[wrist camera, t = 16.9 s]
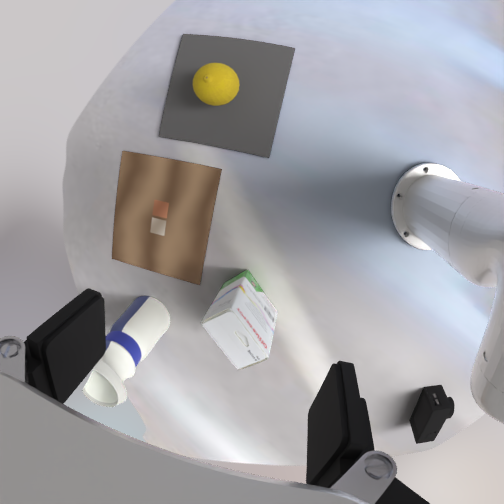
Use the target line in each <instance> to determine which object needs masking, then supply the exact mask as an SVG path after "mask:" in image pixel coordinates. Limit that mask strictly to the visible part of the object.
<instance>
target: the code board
mask: <svg viewBox="0 0 504 504" xmlns="http://www.w3.org/2000/svg"><path fill="white" fill-rule="evenodd" d="M221 170H222V169H218V168H213V167H209V166H204V165H199V164H194V163H189V162H184V161H179V160H173V159H168V158H162V157H157V156H151V155H145V154H139V153H133V152H127V151H122V158H121V165H120V172H119V180H118V188H117V197H116V207H115V219H114V232H113V248H112V259H115V260H118V261H121V262H124V263H128V264H131V265H134V266H137V267H140V268H144V269H147V270H150V271H154V272H157V273H160V274H164V275H167V276H170V277H174V278H177V279H180V280H184V281H187V282H191V283H194V284H198V285H200V282H201V276H202V270H203V264H204V258H205V253H206V247H207V242H208V236H209V231H210V226H211V220H212V215H213V210H214V205H215V200H216V195H217V190H218V185H219V180H220V175H221Z"/></svg>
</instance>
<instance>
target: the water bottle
mask: <svg viewBox="0 0 504 504" xmlns="http://www.w3.org/2000/svg"><path fill="white" fill-rule="evenodd" d="M169 325H170V315H169V313H168V310H167V309H166V307H165V306H164V305H163V304H162V303H161V302H160V301H158V300H157V299H155V298H153V297H150V296H140V297H138V298H136V299H135V300H134V301H133V302H132V304H131V305H130V306H129V307H128V308H127V310H126V311H125V312H124V313H123V314H122V315H121V316H120V318H119V319H118V320H117V321H116V322H115V323H114V324H113V325H112V327H111V328H110V329H109V331H108V334H107V336H106V351H105V354H104V355H103V357H102V358H101V359H100V360H99V361H98V363H97V364H96V365H95V366H94V367H93V371H92V373H91V375H90V378H89V379H88V381H87V383H86V385H85V387H84V388H83V390H82V391H83V393H84V395H85V396H86V397H87V398H88V399H89V400H91V401H92V402H94V403H96V404H98V405H101V406H106V407H114V406H116V405H118V404H121V403H123V402H125V401H126V398H127V392H126V388H125V386H124V384H123V381H124V380H125V379H129V378H131V377H132V376H133V375H134V374H135V367H136V366H137V364H138V363H139V362H141V361H142V360H143V359H145V357H146V356H147V355H148V354H149V352H150V351H151V350H152V348H153V347H154V345H155V344H156V343H157V341H158V340H159V339H160V338H161V336H162V335H163V334H164V333H165V332H166V330H167V329H168V328H169Z"/></svg>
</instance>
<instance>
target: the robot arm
mask: <svg viewBox="0 0 504 504" xmlns="http://www.w3.org/2000/svg"><path fill="white" fill-rule="evenodd" d="M423 168H425V170H424V171H423ZM397 194H399V197H397ZM391 214H392V220H393V223H394V225H395V228H396V230H397V231H398V233H399V235H400V236H401V237H402V238H403V239H404V240H405V241H406V242H407V243H408V244H410V245H412V246H413V247H415V248H418V249H421V250H433V251H435V252H436V253H437V254H438V255H439V256H440V257H442V258H443V259H444V260H445V261H446V262H447V263H448V264H449V265H451V266H452V267H453V268H454V269H455V270H456V271H457V272H458V273H460V274H461V275H462V276H463V277H464V278H465V279H466V280H468V281H469V282H470V283H472V284H474V285H476V286H479V287H485V288H493V287H496V293H495V297H494V301H493V304H492V311H491V314H490V318H489V321H488V324H487V327H486V330H485V333H484V336H483V339H482V342H481V345H480V348H479V351H478V354H477V356H476V359H475V362H474V365H473V368H472V373H471V379H470V385H471V392H472V395H473V397H474V399H475V401H476V403H477V404H478V406H479V407H480V408H481V409H482V410H483V411H484V412H485V413H486V414H488V415H489V416H490V417H492V418H494V419H495V420H497V421H499V422H501V423H503V424H504V193H500V192H497V191H494V190H490V189H487V188H483V187H480V186H477V185H473V184H470V183H466V182H462V181H460V179H459V178H458V177H457V175H456V174H455V173H454V172H453V171H451V170H450V169H449V168H447V167H445V166H443V165H439V164H435V163H423V164H420V165H416V166H414V167H413V168H411V169H409V170H408V171H407V172H406V173H405V174H404V175H403V176H402V177H401V178H400V180H399V181H398V183H397V185H396V187H395V189H394V192H393V195H392V201H391ZM405 231H406V233H405V234H404V232H405ZM105 351H106V336H105V311H104V298H103V297H102V295H101V293H100V292H97V291H94V290H92V289H86V290H85V291H83V292H82V293H81V294H80V295H78V296H77V297H76V298H74V299H73V300H72V301H71V302H69V303H68V304H67V305H65V306H64V307H63V308H62V309H60V310H59V311H58V312H57V313H55V314H54V315H53V316H52V317H51V318H49V319H48V320H47V321H46V322H44V323H43V324H42V325H41V326H39V327H38V328H37V329H36V330H35V331H33V332H32V333H31V334H30V335H29V336H27V340H26V341H25V342H23V341H22V340H21V339H19V338H17V337H15V336H6V337H3V338H0V504H430V503H429V502H427V501H426V500H424V499H423V498H421V497H420V496H419V495H418V494H416V493H415V492H414V491H412V490H411V489H410V488H408V487H407V486H406V485H405V484H403V483H402V482H401V481H399V480H398V479H397V478H395V476H396V474H397V466H396V463H395V461H394V460H393V458H392V457H390V456H389V455H388V454H386V453H384V452H381V451H375V450H374V444H373V438H372V432H371V426H370V421H369V415H368V410H367V405H366V401H365V399H364V398H360V394H359V389H358V383H357V378H356V373H355V368H354V364H353V363H348V362H343V361H338V363H337V364H332V366H331V368H330V370H329V372H328V374H327V376H326V378H325V380H324V382H323V384H322V386H321V388H320V390H319V392H318V394H317V396H316V398H315V400H314V402H313V403H312V405H311V407H310V409H309V413H308V441H307V474H306V483H307V484H303V483H298V482H291V481H285V480H280V479H274V478H268V477H264V476H259V475H254V474H249V473H245V472H240V471H235V470H232V469H228V468H224V467H220V466H216V465H212V464H209V463H205V462H202V461H198V460H195V459H192V458H189V457H185V456H182V455H179V454H176V453H173V452H170V451H167V450H164V449H162V448H159V447H156V446H153V445H151V444H148V443H146V442H143V441H140V440H138V439H135V438H133V437H130V436H128V435H126V434H123V433H121V432H119V431H117V430H114V429H112V428H110V427H108V426H105V425H103V424H101V423H99V422H97V421H95V420H93V419H90V418H89V417H87V416H85V415H83V414H81V413H79V412H77V411H75V410H73V409H71V408H69V407H67V406H66V405H64V404H63V403H64V402H65V401H66V400H67V399H68V398H69V396H70V395H71V394H72V393H73V391H74V390H75V389H76V388H77V387H78V385H79V384H80V383H81V382H82V381H83V379H84V378H85V377H86V376H87V374H88V373H89V372H90V371H91V370H92V369H93V367H94V366H95V365H96V364H97V363H98V361H99V360H100V359H101V358H102V357H103V355H104V354H105Z"/></svg>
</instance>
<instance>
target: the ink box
mask: <svg viewBox="0 0 504 504" xmlns="http://www.w3.org/2000/svg"><path fill="white" fill-rule="evenodd" d="M277 314H278V311H277V310H276V309H275V307H274V306H273V304H272V303H271V302H270V300H269V299H268V298H267V296H266V295H265V293H264V292H263V291H262V289H261V288H260V286H259V285H258V283H257V282H256V281H255V279H254V278H253V276H252V275H251V273H250V272H249V270H246V271H244V272H242V273H240V274H239V275H237V276H235V277H234V278H232V279H230V280H229V281H227V282H225V283H224V284H223V286H222V288H221V289H220V291H219V293H218V294H217V296H216V298H215V299H214V301H213V303H212V304H211V306H210V308H209V309H208V311H207V313H206V314H205V316H204V318H203V319H202V321H201V325H202V326H203V327H204V328H205V330H206V331H207V332H208V334H209V335H210V336H211V337H212V339H213V340H214V341H215V343H216V344H217V345H218V346H219V348H220V349H221V350H222V352H223V353H224V354H225V355H226V357H227V358H228V359H229V360H230V361H231V363H232V364H233V365H234V366H235V368H236V369H237V370H241V369H244V368H247V367H250V366H252V365H255V364H258V363H260V362H263V361H265V360H267V359H268V358H269V354H270V349H271V344H272V339H273V334H274V329H275V324H276V319H277Z"/></svg>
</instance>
